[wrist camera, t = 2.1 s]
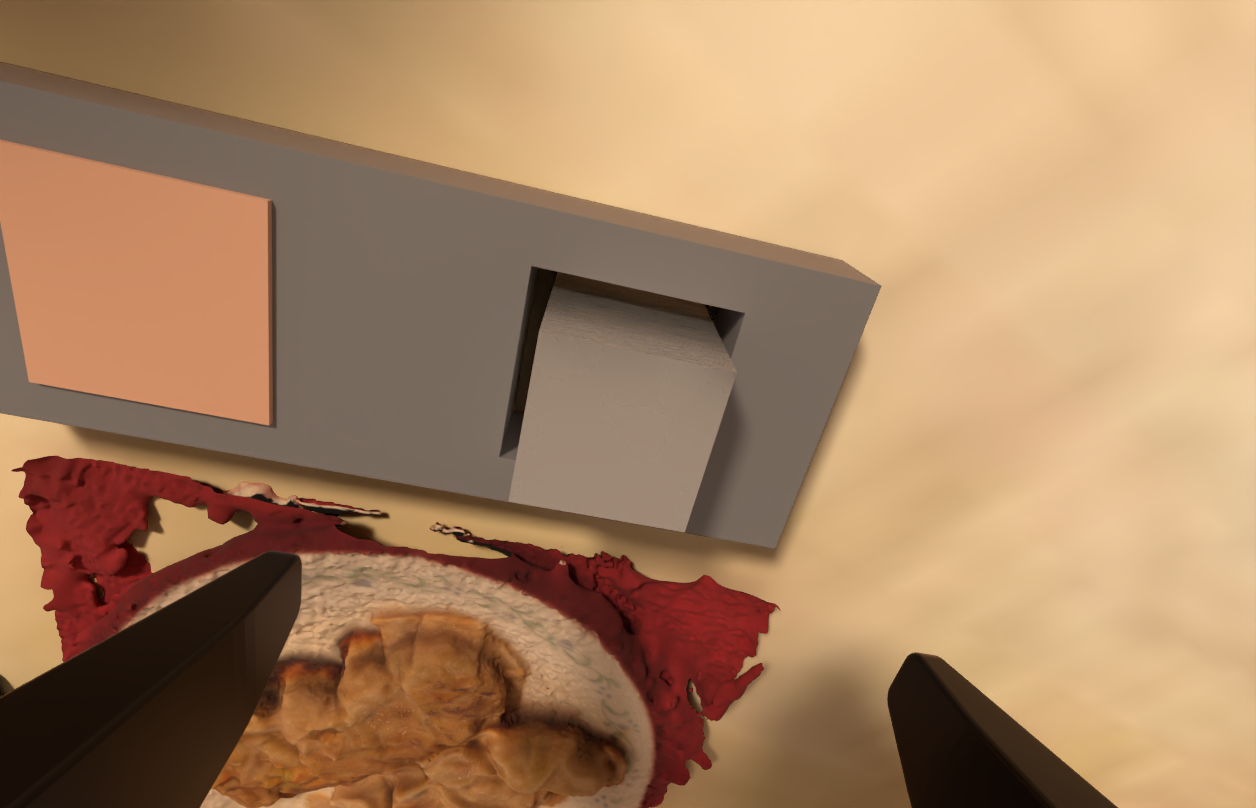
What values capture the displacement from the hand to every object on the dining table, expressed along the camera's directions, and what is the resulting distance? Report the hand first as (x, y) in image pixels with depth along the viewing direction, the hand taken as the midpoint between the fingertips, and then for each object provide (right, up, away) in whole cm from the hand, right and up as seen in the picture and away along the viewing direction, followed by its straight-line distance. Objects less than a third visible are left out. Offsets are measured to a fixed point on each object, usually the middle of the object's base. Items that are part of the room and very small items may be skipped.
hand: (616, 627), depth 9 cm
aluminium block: (0, +5, +11) cm, 12 cm away
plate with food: (-10, -11, +19) cm, 24 cm away
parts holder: (-6, +6, +10) cm, 13 cm away
